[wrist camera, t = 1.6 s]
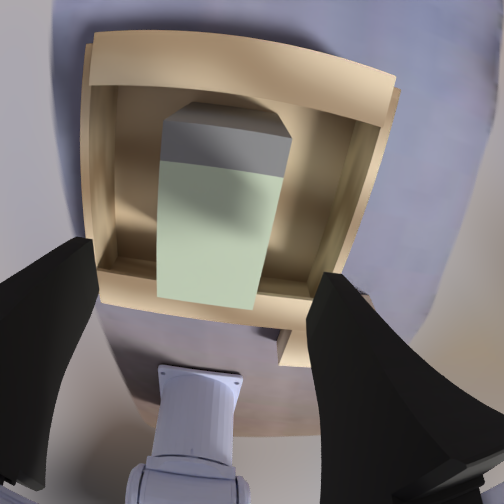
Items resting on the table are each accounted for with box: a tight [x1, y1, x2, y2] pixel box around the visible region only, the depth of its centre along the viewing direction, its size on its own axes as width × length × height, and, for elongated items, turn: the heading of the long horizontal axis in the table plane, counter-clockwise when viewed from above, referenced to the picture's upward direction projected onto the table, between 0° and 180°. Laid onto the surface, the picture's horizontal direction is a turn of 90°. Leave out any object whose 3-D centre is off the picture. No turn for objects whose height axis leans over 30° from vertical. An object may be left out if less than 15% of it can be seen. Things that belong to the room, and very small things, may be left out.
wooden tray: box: [80, 30, 401, 331], centre depth 16 cm, size 15×14×4 cm
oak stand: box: [277, 295, 375, 367], centre depth 23 cm, size 6×6×2 cm
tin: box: [157, 102, 292, 310], centre depth 15 cm, size 8×4×6 cm, turn 170°
